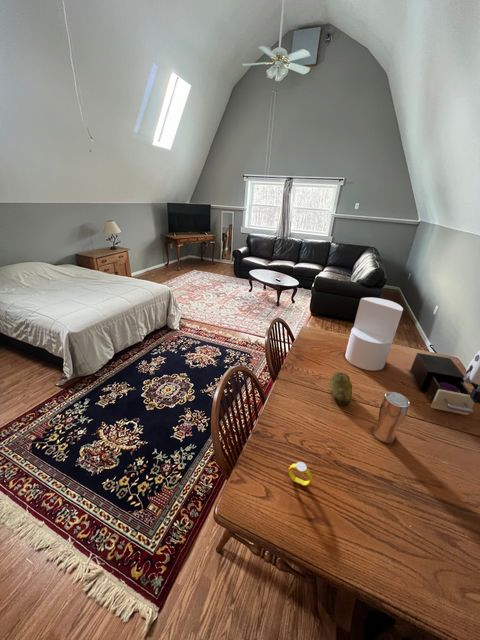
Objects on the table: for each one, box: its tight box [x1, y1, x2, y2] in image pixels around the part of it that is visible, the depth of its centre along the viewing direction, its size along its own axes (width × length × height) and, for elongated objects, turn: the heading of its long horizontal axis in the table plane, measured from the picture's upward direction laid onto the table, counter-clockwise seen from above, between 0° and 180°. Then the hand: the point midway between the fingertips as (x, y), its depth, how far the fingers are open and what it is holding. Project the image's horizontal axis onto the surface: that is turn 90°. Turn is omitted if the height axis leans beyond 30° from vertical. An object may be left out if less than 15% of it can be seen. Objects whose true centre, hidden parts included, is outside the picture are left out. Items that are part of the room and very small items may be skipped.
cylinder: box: [345, 297, 404, 371], centre depth 120 cm, size 17×17×28 cm
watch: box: [287, 461, 313, 487], centre depth 70 cm, size 6×3×6 cm, turn 61°
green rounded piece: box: [330, 371, 353, 407], centre depth 100 cm, size 8×13×8 cm, turn 155°
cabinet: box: [409, 352, 466, 393], centre depth 110 cm, size 14×13×10 cm
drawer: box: [424, 374, 475, 416], centre depth 98 cm, size 18×11×8 cm, turn 164°
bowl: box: [439, 382, 460, 393], centre depth 100 cm, size 7×7×5 cm
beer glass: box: [372, 391, 411, 444], centre depth 83 cm, size 7×7×15 cm
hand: (475, 400), depth 83 cm, fingers closed
